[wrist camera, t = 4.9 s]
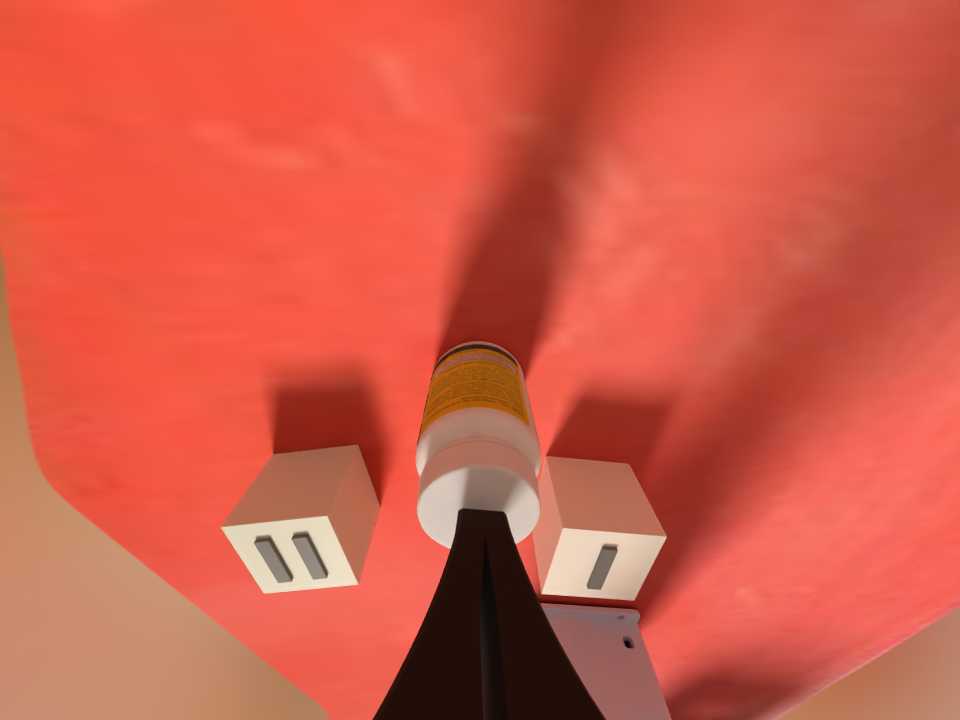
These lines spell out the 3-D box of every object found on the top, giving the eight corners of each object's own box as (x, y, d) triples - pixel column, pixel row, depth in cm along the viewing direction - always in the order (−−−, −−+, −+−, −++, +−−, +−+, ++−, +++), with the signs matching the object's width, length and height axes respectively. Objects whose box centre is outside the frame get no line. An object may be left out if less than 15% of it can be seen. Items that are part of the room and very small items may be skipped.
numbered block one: (628, 462, 22) (669, 540, 17) (605, 521, 24) (635, 604, 20) (545, 454, 22) (563, 531, 17) (529, 515, 24) (541, 597, 19)
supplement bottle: (414, 361, 19) (373, 487, 11) (499, 323, 18) (516, 432, 10) (458, 430, 21) (449, 577, 13) (537, 398, 20) (574, 536, 12)
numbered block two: (358, 443, 21) (325, 519, 17) (380, 505, 23) (357, 588, 19) (273, 453, 22) (218, 530, 17) (303, 514, 24) (262, 597, 19)
